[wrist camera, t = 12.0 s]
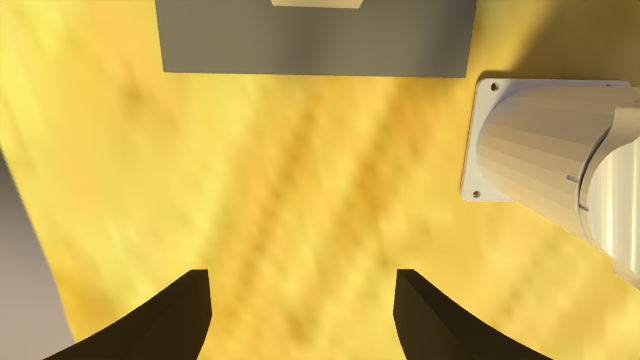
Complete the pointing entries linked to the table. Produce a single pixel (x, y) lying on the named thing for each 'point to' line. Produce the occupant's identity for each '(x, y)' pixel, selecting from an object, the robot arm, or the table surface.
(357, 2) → the cream block
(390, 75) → the desk pad
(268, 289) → the table surface
